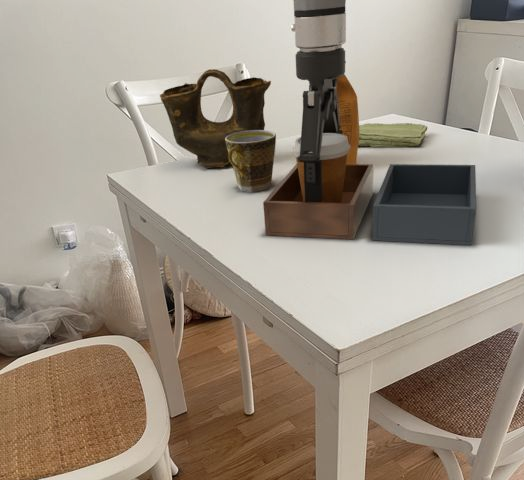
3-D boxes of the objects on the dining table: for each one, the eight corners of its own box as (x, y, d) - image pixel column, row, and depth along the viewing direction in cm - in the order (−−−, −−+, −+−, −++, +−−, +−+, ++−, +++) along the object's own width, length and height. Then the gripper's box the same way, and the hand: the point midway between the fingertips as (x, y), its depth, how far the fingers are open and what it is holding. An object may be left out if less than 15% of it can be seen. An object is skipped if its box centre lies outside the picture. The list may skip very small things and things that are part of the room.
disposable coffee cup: (311, 224, 90) (309, 150, 83) (286, 207, 98) (282, 138, 91) (360, 212, 93) (362, 139, 86) (332, 197, 100) (332, 129, 94)
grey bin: (470, 196, 97) (475, 164, 94) (470, 245, 80) (476, 208, 77) (388, 194, 101) (390, 164, 98) (371, 240, 84) (373, 205, 81)
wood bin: (372, 194, 102) (373, 164, 99) (353, 239, 85) (354, 205, 82) (297, 192, 106) (296, 163, 103) (265, 235, 89) (263, 202, 86)
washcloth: (422, 148, 125) (423, 133, 123) (346, 147, 130) (347, 133, 129) (427, 134, 135) (428, 120, 133) (357, 134, 140) (357, 121, 139)
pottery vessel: (276, 153, 131) (270, 61, 120) (275, 165, 122) (269, 68, 111) (175, 160, 133) (160, 70, 122) (167, 173, 124) (150, 78, 113)
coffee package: (355, 156, 124) (358, 47, 111) (359, 172, 113) (362, 54, 101) (312, 158, 125) (309, 51, 112) (312, 175, 114) (309, 58, 102)
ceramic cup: (246, 177, 117) (242, 128, 111) (287, 181, 112) (284, 131, 107) (213, 196, 108) (206, 145, 102) (255, 202, 103) (251, 148, 98)
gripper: (314, 40, 92) (317, 166, 104) (272, 61, 73) (282, 213, 84) (358, 37, 90) (356, 166, 102) (327, 58, 70) (329, 214, 82)
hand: (322, 188), depth 93 cm, fingers open, 13 cm apart
